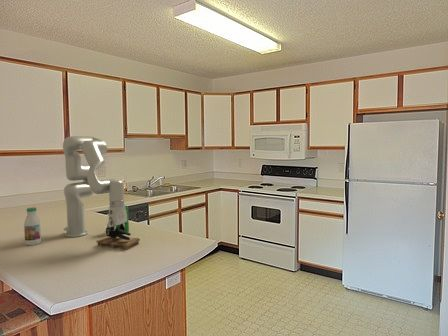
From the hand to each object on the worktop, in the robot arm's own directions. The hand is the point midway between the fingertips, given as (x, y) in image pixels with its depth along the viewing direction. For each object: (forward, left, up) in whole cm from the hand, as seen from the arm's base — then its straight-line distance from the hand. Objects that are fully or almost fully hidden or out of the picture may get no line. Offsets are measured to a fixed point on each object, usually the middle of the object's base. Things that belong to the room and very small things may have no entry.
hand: (117, 235), depth 177 cm
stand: (0, 0, -5) cm, 5 cm away
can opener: (+1, -1, -1) cm, 2 cm away
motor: (-16, +22, -5) cm, 28 cm away
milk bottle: (-47, -14, -5) cm, 49 cm away
